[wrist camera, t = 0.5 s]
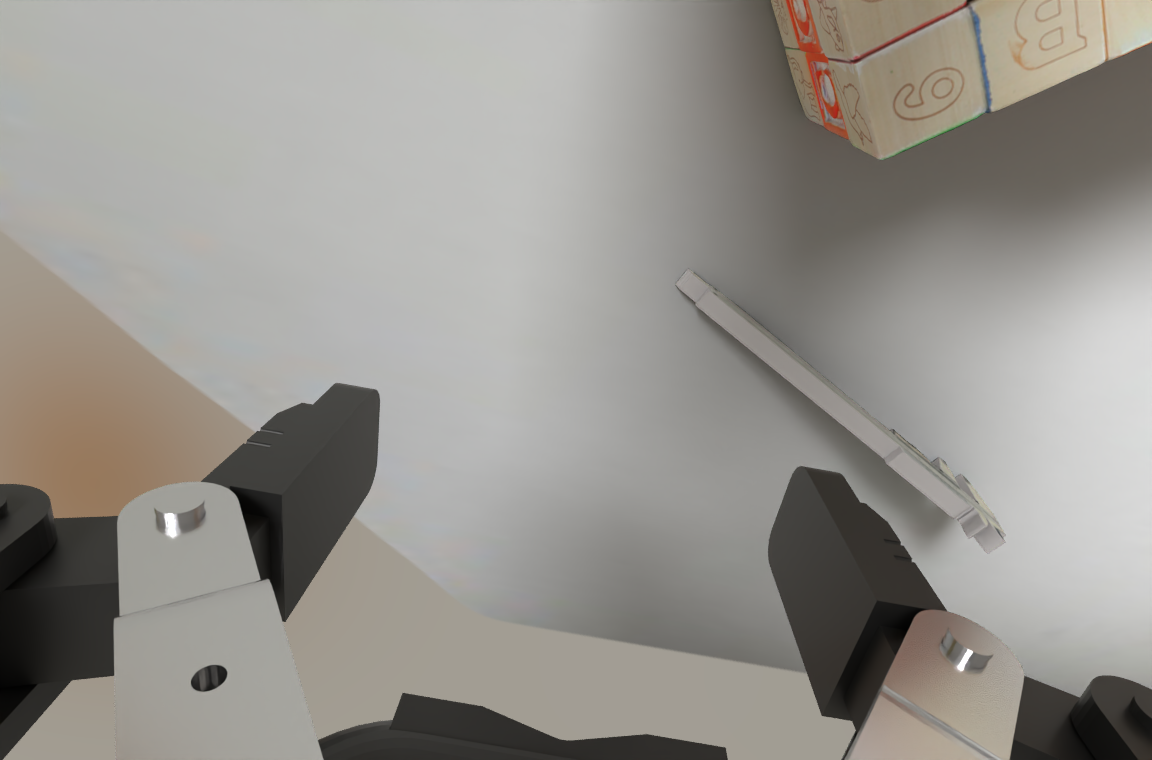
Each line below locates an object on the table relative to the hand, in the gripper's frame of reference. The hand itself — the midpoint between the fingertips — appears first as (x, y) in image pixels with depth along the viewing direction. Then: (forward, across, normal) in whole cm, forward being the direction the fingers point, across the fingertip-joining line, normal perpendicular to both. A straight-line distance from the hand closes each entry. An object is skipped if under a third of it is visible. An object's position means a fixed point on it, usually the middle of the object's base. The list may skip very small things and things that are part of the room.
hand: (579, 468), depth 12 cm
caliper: (+21, -13, +5) cm, 25 cm away
